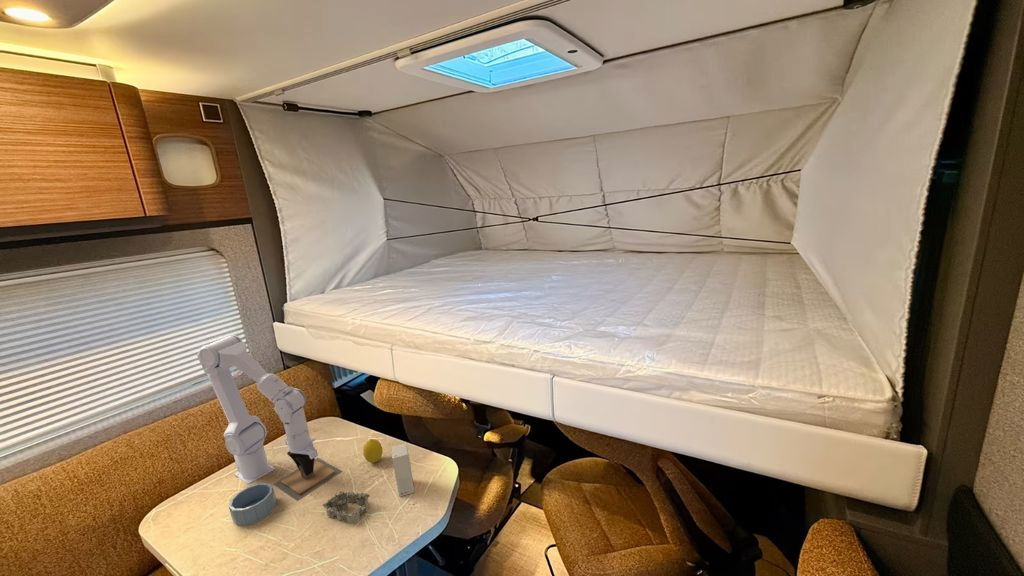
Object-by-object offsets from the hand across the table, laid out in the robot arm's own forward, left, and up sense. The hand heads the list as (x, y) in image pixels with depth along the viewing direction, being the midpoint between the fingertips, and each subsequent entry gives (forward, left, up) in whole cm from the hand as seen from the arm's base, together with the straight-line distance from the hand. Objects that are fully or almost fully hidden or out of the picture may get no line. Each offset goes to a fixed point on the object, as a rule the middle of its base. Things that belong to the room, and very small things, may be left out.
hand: (306, 471), depth 125 cm
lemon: (+12, +15, -3) cm, 19 cm away
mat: (0, 0, -2) cm, 2 cm away
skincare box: (+30, +12, -3) cm, 32 cm away
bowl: (0, -15, -2) cm, 15 cm away
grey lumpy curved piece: (+23, -2, -3) cm, 23 cm away
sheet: (0, 0, -2) cm, 2 cm away
